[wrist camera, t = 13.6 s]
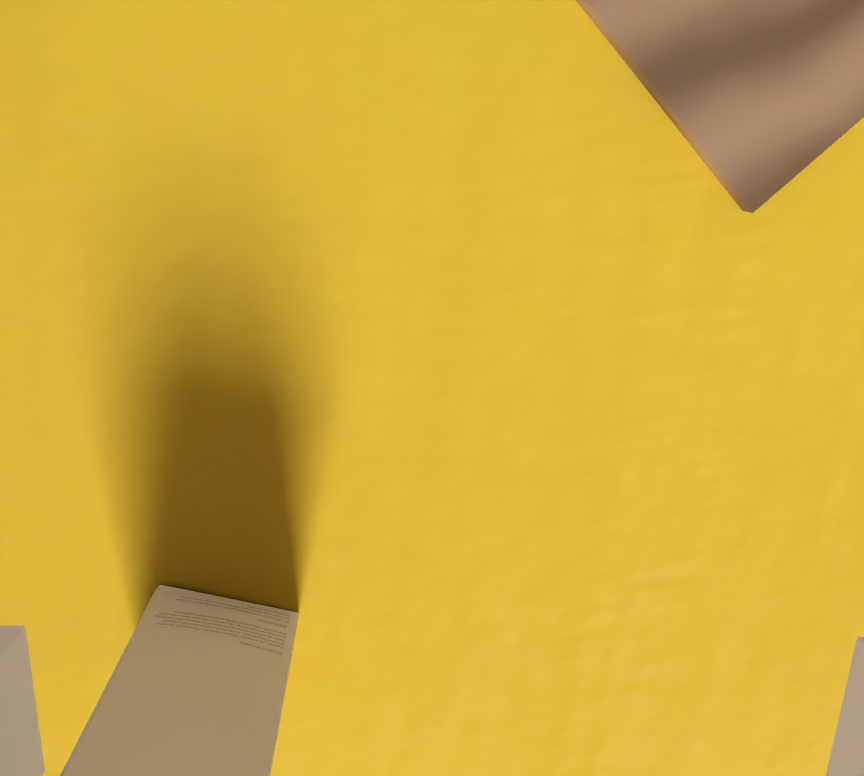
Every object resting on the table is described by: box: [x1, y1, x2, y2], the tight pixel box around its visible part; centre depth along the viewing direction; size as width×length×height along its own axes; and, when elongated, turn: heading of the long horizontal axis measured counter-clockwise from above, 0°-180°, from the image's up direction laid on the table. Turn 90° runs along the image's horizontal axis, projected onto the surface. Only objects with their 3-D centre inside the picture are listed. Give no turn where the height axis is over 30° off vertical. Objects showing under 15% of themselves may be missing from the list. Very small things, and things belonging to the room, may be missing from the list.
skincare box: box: [60, 585, 298, 776], centre depth 38 cm, size 8×7×16 cm
